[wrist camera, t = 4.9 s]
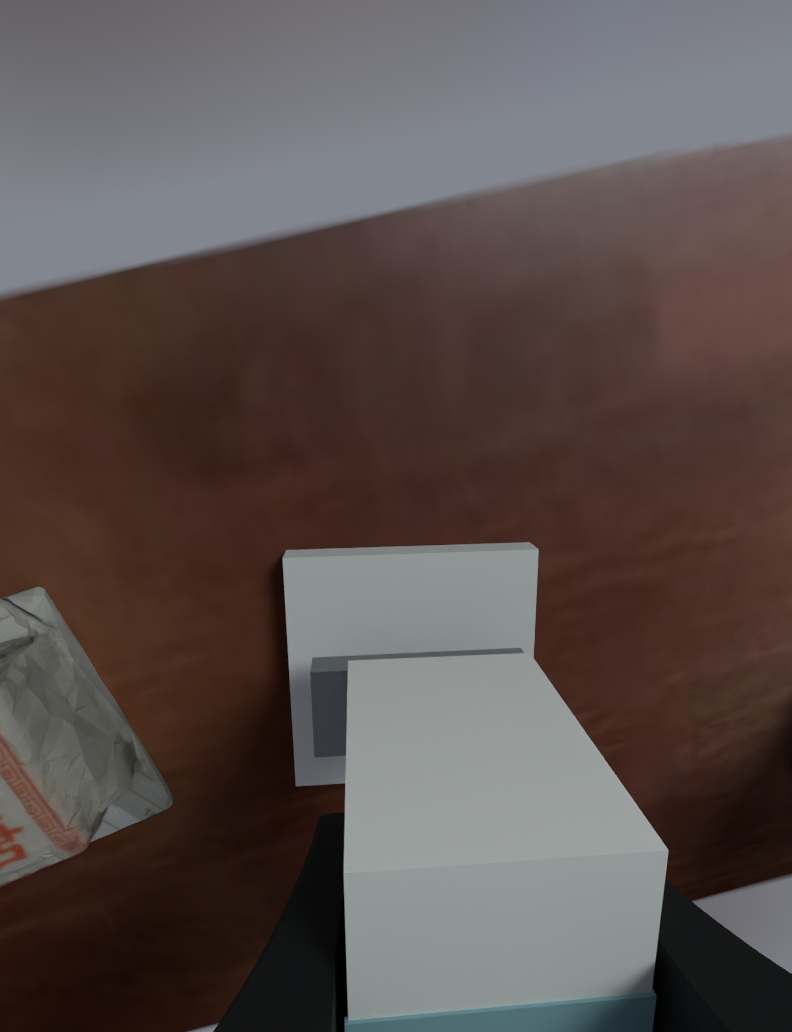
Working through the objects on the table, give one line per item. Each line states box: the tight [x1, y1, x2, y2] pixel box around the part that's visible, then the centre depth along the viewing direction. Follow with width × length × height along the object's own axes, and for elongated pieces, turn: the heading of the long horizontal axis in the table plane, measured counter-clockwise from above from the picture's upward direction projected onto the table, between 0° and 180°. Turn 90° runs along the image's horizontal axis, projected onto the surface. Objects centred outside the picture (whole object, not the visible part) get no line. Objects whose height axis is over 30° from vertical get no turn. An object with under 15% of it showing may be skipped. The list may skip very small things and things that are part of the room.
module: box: [344, 653, 669, 1032], centre depth 11 cm, size 5×7×6 cm, turn 1°
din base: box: [283, 542, 538, 786], centre depth 20 cm, size 9×9×1 cm
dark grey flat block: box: [310, 648, 524, 758], centre depth 18 cm, size 7×3×1 cm, turn 91°
